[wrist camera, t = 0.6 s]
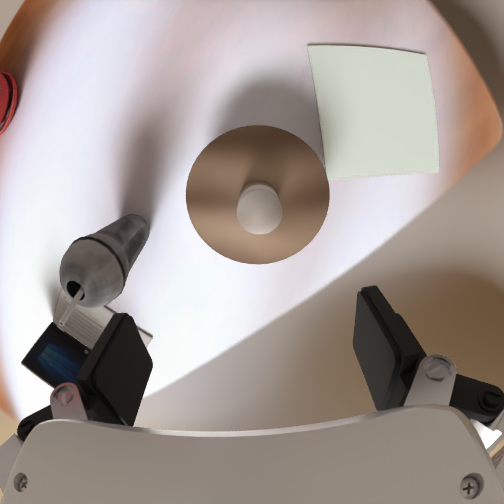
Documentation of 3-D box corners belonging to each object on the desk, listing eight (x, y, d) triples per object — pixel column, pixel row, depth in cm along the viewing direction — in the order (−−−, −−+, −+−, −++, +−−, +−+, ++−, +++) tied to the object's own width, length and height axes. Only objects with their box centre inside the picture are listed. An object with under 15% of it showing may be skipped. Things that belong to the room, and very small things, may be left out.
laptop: (154, 335, 43) (131, 396, 31) (129, 370, 47) (108, 422, 35) (66, 275, 39) (23, 321, 27) (53, 319, 43) (20, 363, 31)
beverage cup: (109, 202, 34) (8, 272, 15) (159, 206, 34) (75, 289, 16) (112, 252, 37) (33, 343, 18) (159, 258, 37) (96, 364, 19)
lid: (175, 140, 25) (156, 143, 20) (318, 118, 24) (336, 115, 19) (204, 268, 31) (194, 298, 25) (330, 250, 30) (347, 276, 25)
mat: (306, 46, 26) (307, 45, 25) (424, 55, 25) (426, 55, 24) (326, 180, 33) (327, 180, 32) (437, 172, 32) (439, 172, 31)
